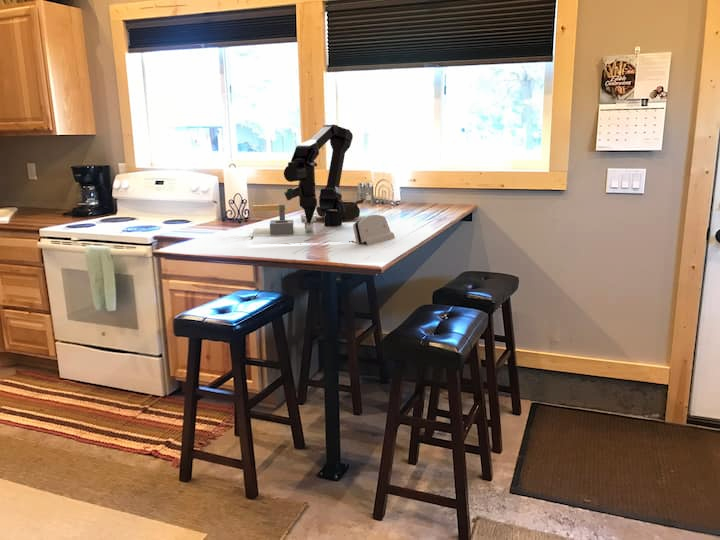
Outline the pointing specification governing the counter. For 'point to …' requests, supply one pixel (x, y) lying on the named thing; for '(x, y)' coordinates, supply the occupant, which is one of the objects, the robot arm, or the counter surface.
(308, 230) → the pin
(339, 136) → the robot arm
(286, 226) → the block
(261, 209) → the bar
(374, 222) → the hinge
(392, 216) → the counter surface
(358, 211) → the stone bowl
